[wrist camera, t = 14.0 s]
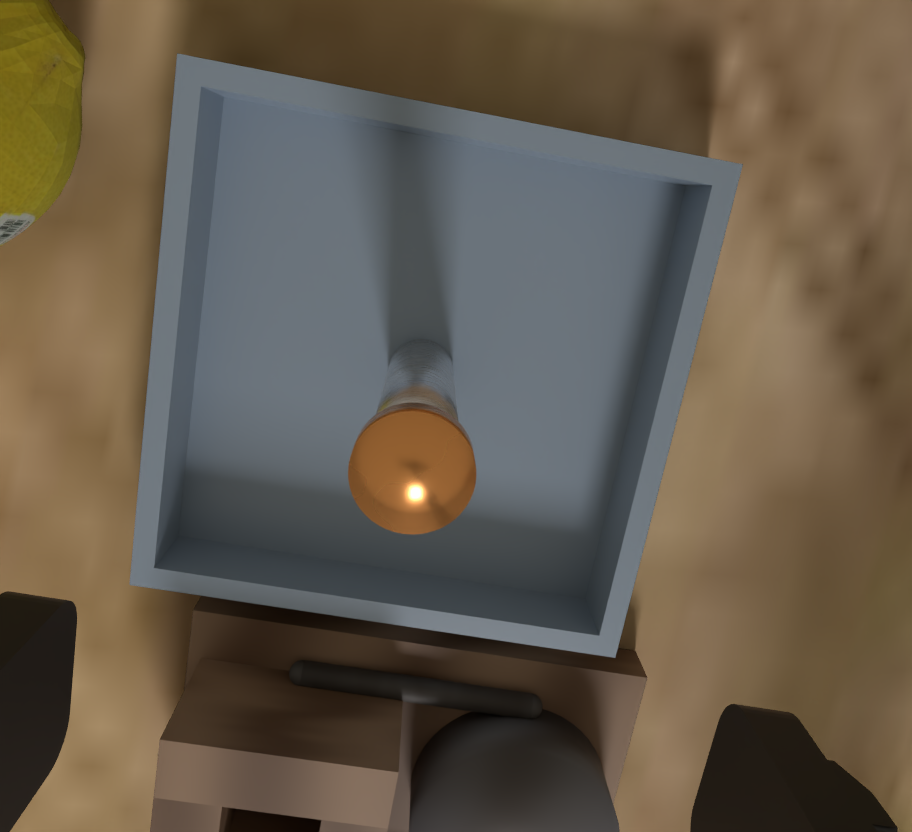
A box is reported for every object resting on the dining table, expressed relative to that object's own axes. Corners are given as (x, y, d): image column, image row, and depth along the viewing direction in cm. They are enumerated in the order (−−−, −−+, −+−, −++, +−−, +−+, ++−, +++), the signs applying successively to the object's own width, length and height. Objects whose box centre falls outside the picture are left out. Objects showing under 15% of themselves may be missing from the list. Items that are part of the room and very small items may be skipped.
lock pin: (467, 338, 31) (487, 424, 19) (453, 415, 31) (463, 543, 20) (387, 324, 30) (358, 402, 19) (375, 402, 31) (339, 523, 20)
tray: (707, 168, 30) (742, 164, 26) (597, 612, 34) (615, 657, 31) (207, 70, 29) (177, 53, 25) (160, 545, 33) (129, 584, 30)
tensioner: (635, 650, 35) (684, 760, 28) (574, 881, 38) (605, 1031, 31) (207, 586, 34) (149, 684, 27) (178, 830, 37) (120, 974, 30)
